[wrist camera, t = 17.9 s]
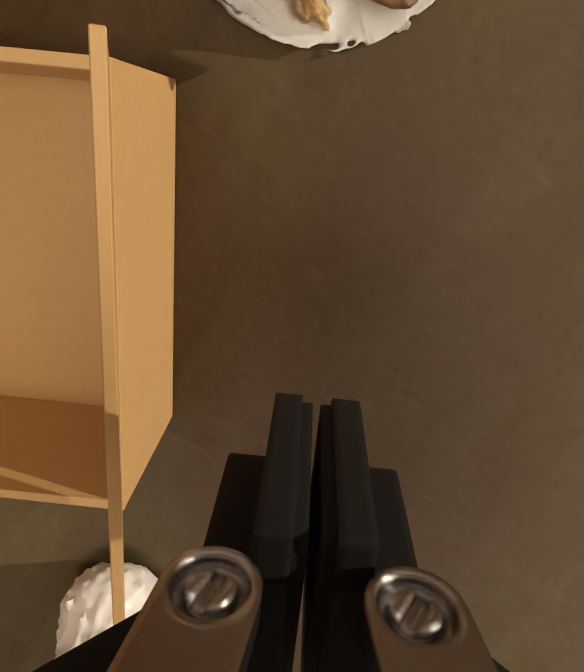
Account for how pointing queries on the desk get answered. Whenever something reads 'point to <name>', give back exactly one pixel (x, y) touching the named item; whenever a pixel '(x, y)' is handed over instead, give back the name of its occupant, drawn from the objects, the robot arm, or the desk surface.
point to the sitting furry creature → (98, 603)
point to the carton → (81, 275)
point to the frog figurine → (325, 19)
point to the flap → (107, 301)
